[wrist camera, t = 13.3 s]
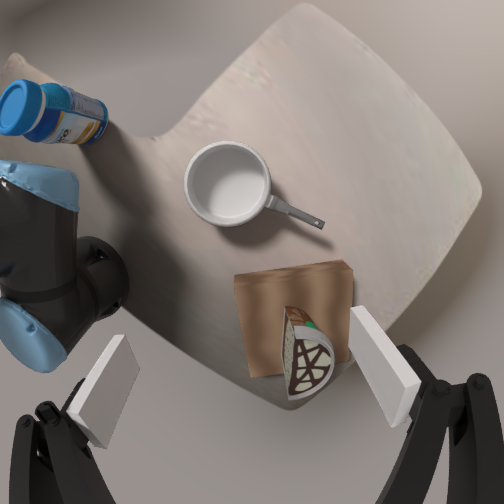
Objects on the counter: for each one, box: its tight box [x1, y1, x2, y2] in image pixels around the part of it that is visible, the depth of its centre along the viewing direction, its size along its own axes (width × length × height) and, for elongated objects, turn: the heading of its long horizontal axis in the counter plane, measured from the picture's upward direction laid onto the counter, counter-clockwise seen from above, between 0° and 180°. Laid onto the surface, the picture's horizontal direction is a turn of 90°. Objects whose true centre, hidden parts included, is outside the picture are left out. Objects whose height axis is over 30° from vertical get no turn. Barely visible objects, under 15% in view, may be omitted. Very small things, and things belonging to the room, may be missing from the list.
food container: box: [281, 306, 335, 401], centre depth 37 cm, size 12×6×10 cm, turn 0°
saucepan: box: [184, 141, 325, 230], centre depth 38 cm, size 12×20×6 cm, turn 67°
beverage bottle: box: [0, 79, 108, 145], centre depth 26 cm, size 8×8×20 cm
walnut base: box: [234, 260, 353, 378], centre depth 44 cm, size 18×18×5 cm
